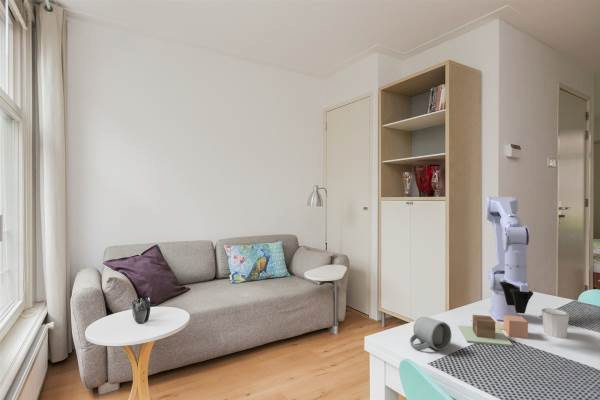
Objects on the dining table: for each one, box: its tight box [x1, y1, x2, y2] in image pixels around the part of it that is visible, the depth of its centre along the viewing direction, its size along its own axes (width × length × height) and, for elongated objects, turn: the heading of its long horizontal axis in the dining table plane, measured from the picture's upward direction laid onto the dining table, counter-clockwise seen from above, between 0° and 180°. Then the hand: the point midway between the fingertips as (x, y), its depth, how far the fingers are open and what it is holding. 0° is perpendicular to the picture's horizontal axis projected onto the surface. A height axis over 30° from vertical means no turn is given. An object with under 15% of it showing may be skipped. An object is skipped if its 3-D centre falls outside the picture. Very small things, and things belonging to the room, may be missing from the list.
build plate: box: [457, 325, 514, 347], centre depth 102 cm, size 12×12×1 cm
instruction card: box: [470, 319, 504, 331], centre depth 111 cm, size 6×9×1 cm, turn 76°
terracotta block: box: [503, 315, 529, 339], centre depth 103 cm, size 5×5×5 cm
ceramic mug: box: [409, 316, 452, 352], centre depth 96 cm, size 11×8×8 cm
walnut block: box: [472, 314, 496, 338], centre depth 102 cm, size 5×5×5 cm
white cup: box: [541, 308, 570, 339], centre depth 103 cm, size 7×7×7 cm
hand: (515, 308), depth 103 cm, fingers open, 7 cm apart
